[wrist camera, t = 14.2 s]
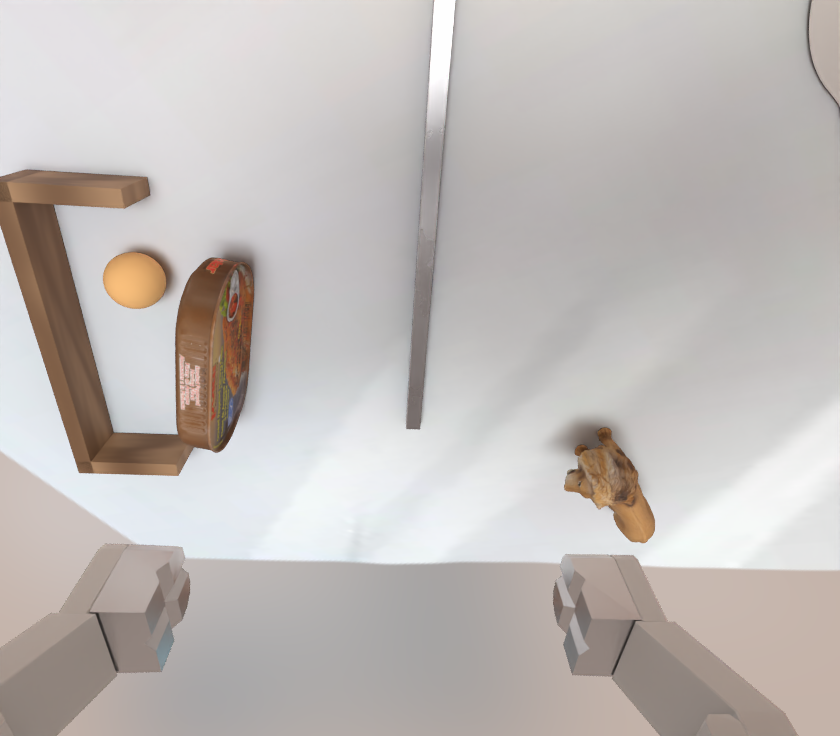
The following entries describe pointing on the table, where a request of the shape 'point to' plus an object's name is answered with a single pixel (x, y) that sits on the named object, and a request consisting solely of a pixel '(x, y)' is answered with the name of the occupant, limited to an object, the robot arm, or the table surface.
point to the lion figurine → (612, 486)
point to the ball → (134, 280)
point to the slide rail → (429, 200)
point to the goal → (75, 317)
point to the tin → (213, 352)
